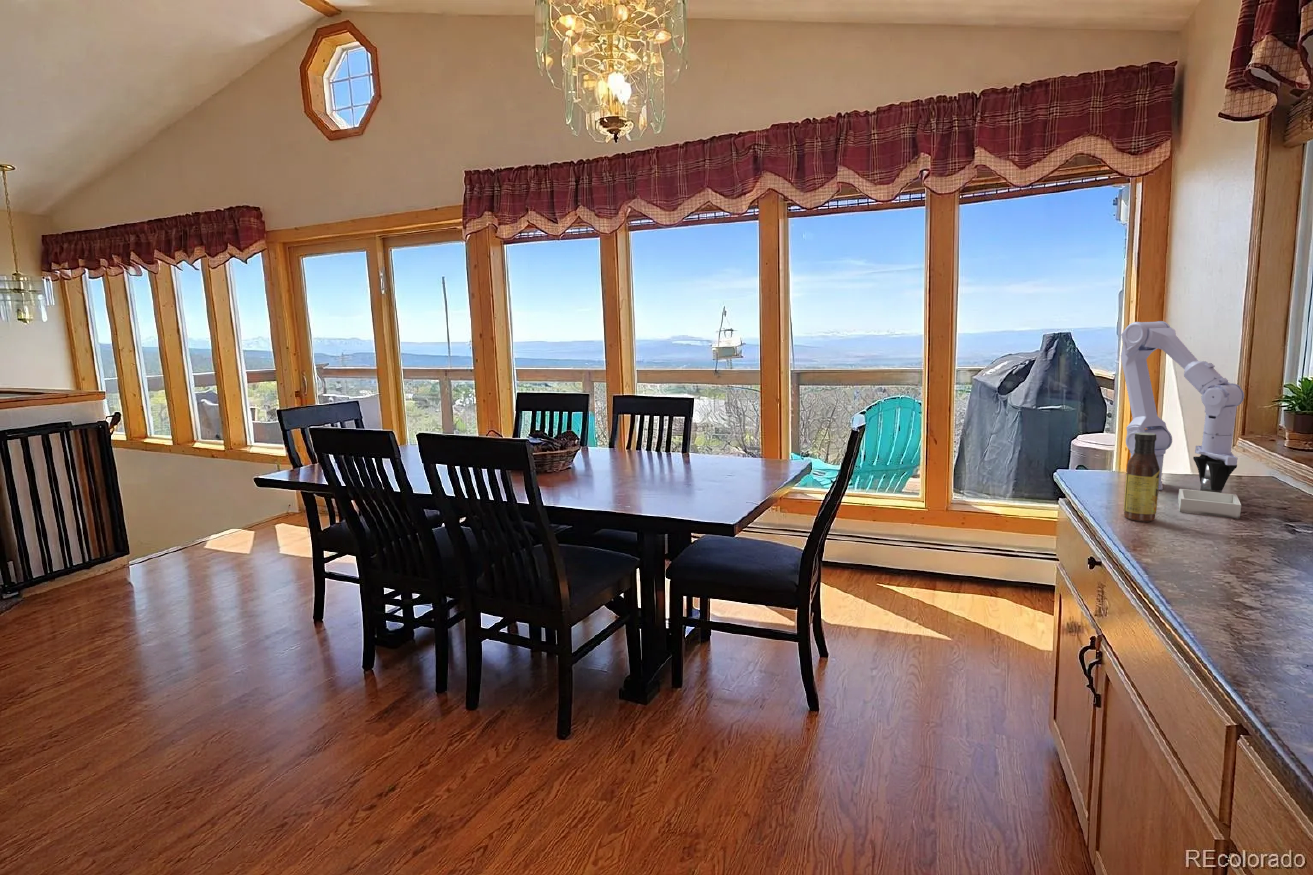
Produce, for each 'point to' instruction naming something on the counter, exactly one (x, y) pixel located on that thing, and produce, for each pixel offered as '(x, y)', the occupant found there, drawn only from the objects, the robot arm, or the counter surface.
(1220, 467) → the robot arm
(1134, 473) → the sauce bottle
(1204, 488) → the silver metal knob
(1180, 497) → the bin
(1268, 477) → the counter surface
